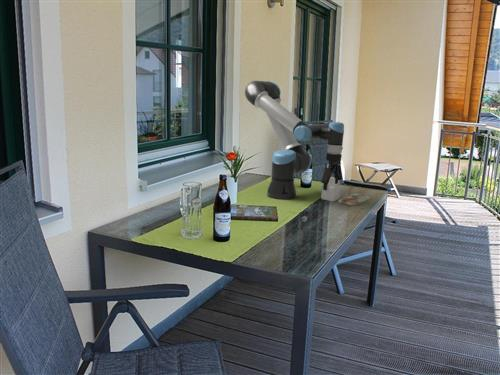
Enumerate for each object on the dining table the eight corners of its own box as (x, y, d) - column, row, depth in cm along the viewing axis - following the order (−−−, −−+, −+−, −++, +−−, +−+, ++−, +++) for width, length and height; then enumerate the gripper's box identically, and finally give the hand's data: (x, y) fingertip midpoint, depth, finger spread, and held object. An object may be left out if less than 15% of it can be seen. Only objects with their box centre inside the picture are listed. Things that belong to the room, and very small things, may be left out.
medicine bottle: (327, 197, 259) (329, 174, 256) (339, 199, 255) (341, 176, 252) (320, 199, 253) (322, 176, 250) (333, 201, 249) (335, 178, 246)
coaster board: (337, 202, 247) (338, 199, 247) (352, 196, 264) (353, 192, 264) (354, 205, 243) (355, 202, 242) (369, 198, 259) (369, 195, 259)
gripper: (330, 156, 237) (327, 199, 241) (350, 151, 257) (346, 191, 262) (316, 154, 241) (313, 196, 245) (337, 150, 261) (333, 189, 266)
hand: (330, 194), depth 253 cm, fingers open, 13 cm apart
